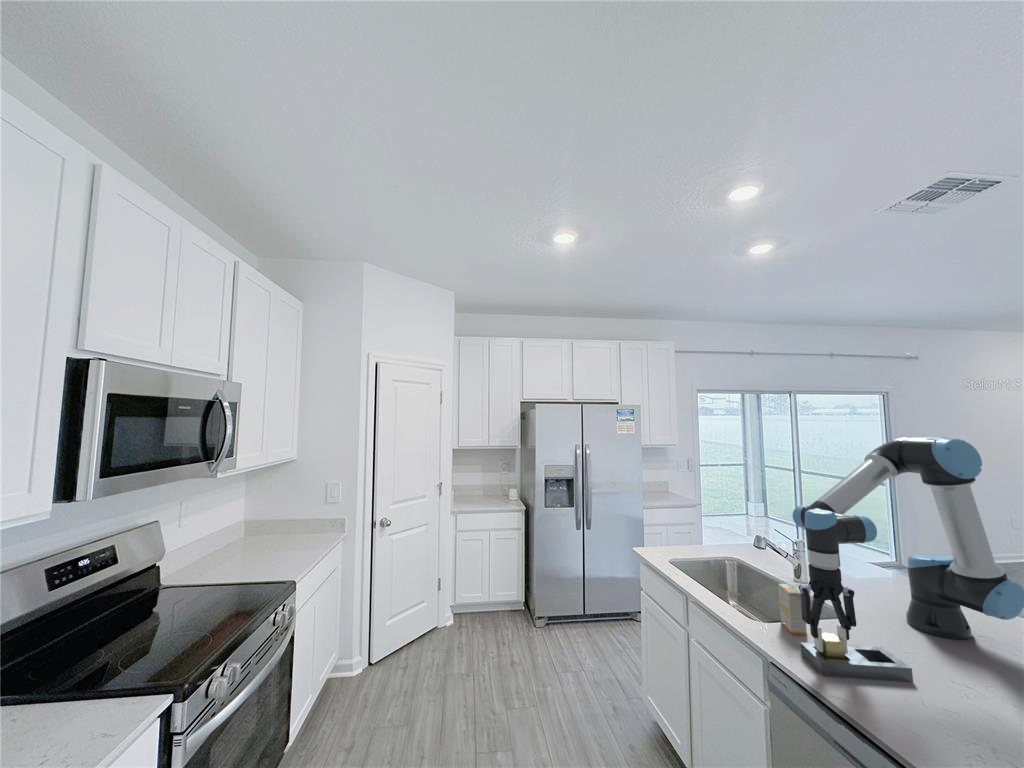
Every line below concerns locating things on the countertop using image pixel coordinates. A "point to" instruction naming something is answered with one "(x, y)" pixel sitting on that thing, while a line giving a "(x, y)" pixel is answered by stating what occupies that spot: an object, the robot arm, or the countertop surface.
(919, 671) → the countertop surface
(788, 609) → the supplement box
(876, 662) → the grey flat slotted block
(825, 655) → the brass block
